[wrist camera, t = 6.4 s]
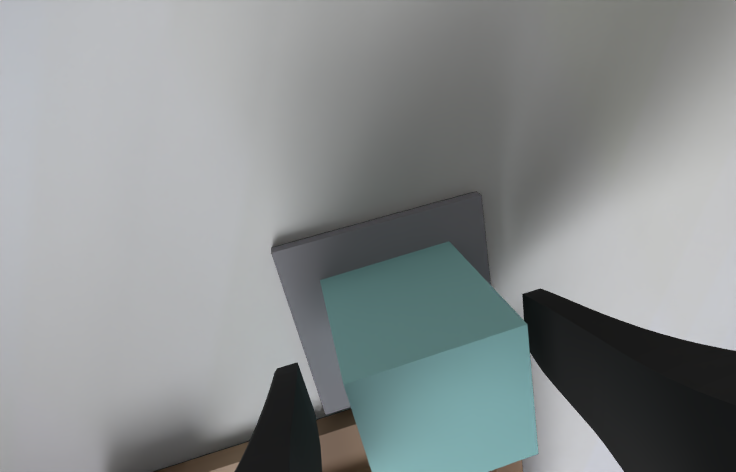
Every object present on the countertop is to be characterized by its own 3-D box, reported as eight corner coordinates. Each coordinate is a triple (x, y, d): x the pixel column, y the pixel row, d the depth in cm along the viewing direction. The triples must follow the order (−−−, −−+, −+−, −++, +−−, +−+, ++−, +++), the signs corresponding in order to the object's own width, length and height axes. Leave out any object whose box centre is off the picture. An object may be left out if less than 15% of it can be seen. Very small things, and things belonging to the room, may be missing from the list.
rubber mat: (476, 191, 15) (481, 194, 15) (493, 353, 18) (498, 360, 18) (271, 247, 14) (271, 253, 14) (324, 407, 17) (325, 414, 17)
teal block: (449, 241, 15) (527, 324, 10) (466, 345, 17) (538, 453, 12) (319, 280, 15) (343, 384, 10) (351, 382, 16) (383, 509, 12)
